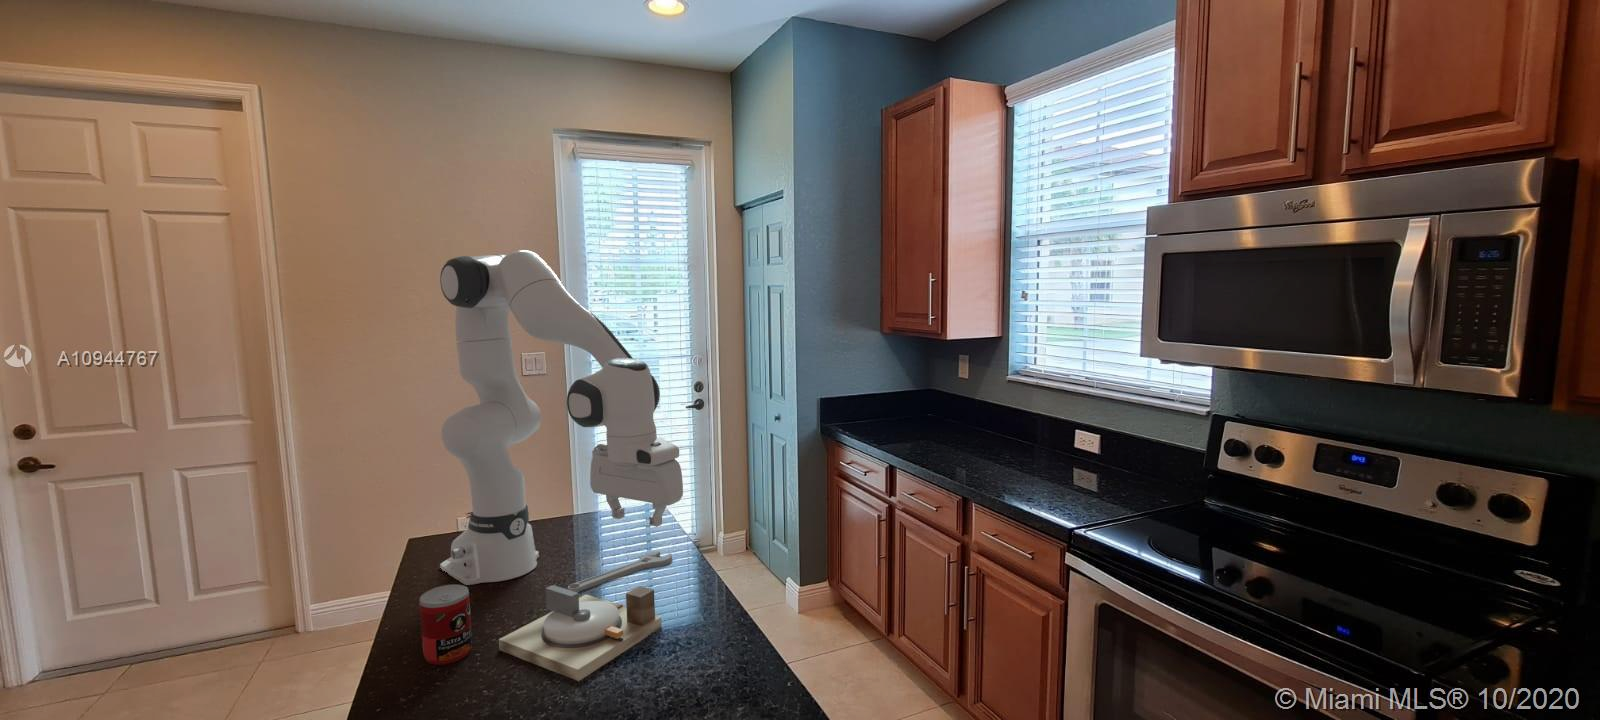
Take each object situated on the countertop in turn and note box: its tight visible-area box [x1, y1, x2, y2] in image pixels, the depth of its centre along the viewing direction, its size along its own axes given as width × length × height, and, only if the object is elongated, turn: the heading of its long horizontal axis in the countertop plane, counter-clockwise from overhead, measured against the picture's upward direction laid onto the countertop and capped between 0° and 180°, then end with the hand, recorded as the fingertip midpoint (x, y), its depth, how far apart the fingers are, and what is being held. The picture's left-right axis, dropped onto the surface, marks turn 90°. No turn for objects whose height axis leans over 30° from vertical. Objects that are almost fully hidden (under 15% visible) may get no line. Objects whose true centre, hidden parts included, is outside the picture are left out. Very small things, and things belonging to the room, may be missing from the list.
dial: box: [544, 584, 623, 644], centre depth 122 cm, size 18×13×6 cm
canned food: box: [419, 584, 473, 665], centre depth 118 cm, size 8×8×11 cm
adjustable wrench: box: [567, 551, 673, 593], centre depth 151 cm, size 25×6×2 cm, turn 131°
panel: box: [498, 594, 663, 682], centre depth 123 cm, size 20×20×2 cm
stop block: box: [625, 585, 656, 626], centre depth 125 cm, size 4×4×6 cm
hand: (637, 521), depth 123 cm, fingers open, 8 cm apart
